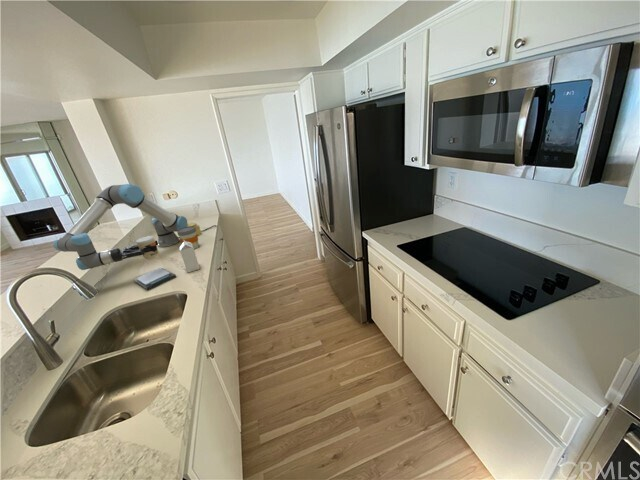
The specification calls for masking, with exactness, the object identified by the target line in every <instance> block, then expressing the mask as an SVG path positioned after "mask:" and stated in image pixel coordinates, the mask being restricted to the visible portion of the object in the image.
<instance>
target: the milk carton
mask: <svg viewBox="0 0 640 480" xmlns="http://www.w3.org/2000/svg"><path fill="white" fill-rule="evenodd" d="M179 252H180V255H181V259H182V262H183V264H184V266H185V269H186V273H191V272H195V271H197V270H200V267H201V266H200V263H199V261H198V257H197V254H196V252H195V249H194V248H193V245H192V244H191V243H190V242H186V241H184V242H183V243H182V242H181V245H180V246H179Z"/></svg>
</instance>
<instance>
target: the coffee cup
mask: <svg viewBox="0 0 640 480" xmlns="http://www.w3.org/2000/svg"><path fill="white" fill-rule="evenodd" d="M155 241H156V239H155V237H154V236H153V235H147V236H143V237H139V238H138V239H136V241H135V242H136V245H138V247H139V249H143V248H147V247H151V246H155V245H156V242H155ZM156 247H157V250H155V251H151V252H147V253H145V255H142V256H143V258H144V260H146V261H150V260H154V259H156V258H158V257H159V256H160V252H159V249H158V245H156Z"/></svg>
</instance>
